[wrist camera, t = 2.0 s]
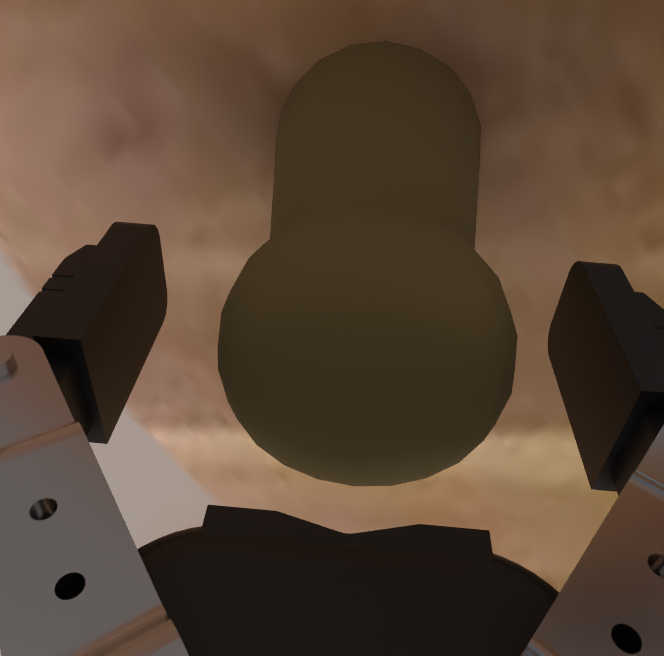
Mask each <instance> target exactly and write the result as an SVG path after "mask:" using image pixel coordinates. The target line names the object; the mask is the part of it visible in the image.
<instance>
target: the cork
mask: <svg viewBox="0 0 664 656" xmlns="http://www.w3.org/2000/svg"><path fill="white" fill-rule="evenodd" d="M480 131H481V126H480V123H479V119H478V116H477V113H476V110H475V107H474V104H473V101H472V98H471V95H470V93H469V92H468V91H467V90H466V88H465V87H464V86H463V84H462V83H461V82H460V80H459V79H458V78H457V76H456V75H455V74H454V73H453V71H452V70H451V69H450V68H449V67H447V66H446V65H444V64H443V63H441V62H440V61H438V60H437V59H435V58H434V57H432V56H430V55H429V54H427V53H426V52H424V51H423V50H421V49H417V48H413V47H408V46H404V45H400V44H396V43H391V42H387V41H386V42H377V43H367V44H358V45H351V46H349V47H347V48H344V49H342V50H340V51H338V52H336V53H334V54H332V55H330V56H327V57H325V58H323V59H321V60H319V61H318V62H317V63H316V64H315V65H314V66H313V67H312V68H311V69H310V70H309V71H308V72H307V73H306V74H305V75H304V76H303V77H302V78H301V79H300V80H299V81H298V82H297V83H296V84H295V86H294V88H293V90H292V91H291V93H290V95H289V97H288V99H287V101H286V103H285V105H284V107H283V109H282V111H281V114H280V121H279V127H278V134H277V141H276V153H275V169H274V185H273V201H272V217H271V233H270V240H268V241H267V242H266V243H265V244H264V245H262V246H261V247H260V248H259V249H258V250H257V251H256V252H255V253H254V254H253V255H252V256H251V257H250V258H249V259H248V261H247V262H246V264H245V266H244V268H243V269H242V271H241V273H240V275H239V277H238V278H237V280H236V282H235V284H234V285H233V287H232V289H231V291H230V293H229V295H228V298H227V300H226V302H225V305H224V307H223V310H222V313H221V323H220V332H219V341H218V370H219V374H220V377H221V380H222V383H223V387H224V390H225V393H226V397H227V400H228V403H229V404H230V406H231V408H232V410H233V412H234V414H235V416H236V418H237V419H238V421H239V422H240V423H241V425H242V426H243V427H244V429H245V430H246V431H247V433H248V434H249V435H250V437H251V438H252V439H253V440H254V442H255V443H256V444H257V445H258V446H259V447H260V448H262V449H263V450H265V451H266V452H267V453H269V454H270V455H271V456H273V457H274V458H275V459H277V460H278V461H279V462H281V463H282V464H284V465H285V466H288V467H290V468H292V469H295V470H297V471H300V472H302V473H304V474H307V475H309V476H311V477H314V478H316V479H320V480H325V481H330V482H335V483H340V484H346V485H351V486H393V485H397V484H402V483H406V482H411V481H415V480H420V479H424V478H428V477H430V476H432V475H434V474H436V473H438V472H440V471H443V470H445V469H447V468H449V467H451V466H453V465H455V464H457V463H459V462H460V461H461V460H462V459H463V458H465V457H466V456H467V455H468V454H469V453H470V452H471V451H472V450H473V449H475V448H476V447H477V446H478V445H479V444H480V443H481V442H482V441H484V439H485V438H486V436H487V435H488V434H489V432H490V431H491V429H492V428H493V427H494V425H495V424H496V422H497V420H498V418H499V416H500V414H501V412H502V410H503V409H504V407H505V405H506V403H507V401H508V399H509V397H510V395H511V393H512V386H513V379H514V371H515V359H516V346H517V333H516V329H515V325H514V322H513V318H512V315H511V312H510V309H509V306H508V303H507V300H506V298H505V295H504V292H503V289H502V286H501V283H500V281H499V278H498V277H497V275H496V274H495V273H494V272H493V271H492V269H491V268H490V267H489V266H488V265H487V263H486V262H485V261H484V260H483V259H482V258H481V257H480V255H479V254H478V253H477V252H476V251H475V250H474V249H475V232H476V214H477V197H478V180H479V162H480Z"/></svg>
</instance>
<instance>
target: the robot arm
mask: <svg viewBox="0 0 664 656" xmlns="http://www.w3.org/2000/svg"><path fill="white" fill-rule="evenodd" d="M166 309H167V287H166V280H165V273H164V265H163V258H162V250H161V243H160V236H159V232H158V229H157V227H156V226H155V225H150V224H138V223H126V222H114V223H113V224H112V225H111V227H110V228H109V230H108V231H107V232H106V234H105V235H104V237H103V238H102V239H101V241H100V242H99V244H98V245H97V246H96V245H85V246H84V247H82V248H80V249H79V250H77V251H76V252H74V253H72V254H71V255H69V256H68V257H66V258H65V259H64V260H63V261H62V262H61V264H60V265H59V266H58V268H57V269H56V270H55V272H54V273H53V274H52V278H49V279H48V281H47V282H46V283H45V285H44V286H43V287H42V292H38V294H37V295H36V296H35V298H34V299H33V300H32V302H31V303H30V304H29V305H28V307H27V308H26V309H25V311H24V312H23V313H22V315H21V316H20V317H19V319H18V320H17V321H16V322H15V324H14V325H13V326H12V328H11V329H10V330H9V332H8V333H7V334H6V335H5V336H0V650H1V654H2V656H664V309H662V308H661V307H660V306H659V305H658V304H656V303H655V302H654V301H653V300H652V299H650V298H649V297H648V296H647V295H646V294H644V293H641V292H634V290H633V288H632V287H631V285H630V283H629V281H628V279H627V277H626V276H625V274H624V272H623V270H622V269H621V267H620V266H619V265H617V264H605V263H593V262H581V261H577V262H575V263H574V264H573V266H572V267H571V269H570V272H569V274H568V277H567V280H566V283H565V285H564V288H563V291H562V294H561V297H560V300H559V303H558V305H557V308H556V311H555V314H554V317H553V320H552V322H551V326H550V329H549V335H548V353H549V358H550V361H551V364H552V367H553V370H554V374H555V377H556V380H557V383H558V386H559V389H560V392H561V396H562V399H563V402H564V405H565V408H566V411H567V415H568V418H569V421H570V424H571V427H572V430H573V433H574V437H575V440H576V443H577V446H578V449H579V452H580V455H581V459H582V462H583V465H584V468H585V471H586V474H587V477H588V481H589V484H590V487H591V489H595V490H606V491H617V493H618V496H619V497H618V498H617V500H616V501H615V503H614V505H613V506H612V508H611V510H610V511H609V513H608V515H607V516H606V518H605V519H604V521H603V523H602V524H601V526H600V528H599V529H598V531H597V532H596V534H595V536H594V537H593V539H592V541H591V542H590V544H589V546H588V547H587V549H586V550H585V552H584V554H583V555H582V557H581V559H580V560H579V562H578V564H577V565H576V567H575V568H574V570H573V572H572V573H571V575H570V577H569V578H568V580H567V581H566V583H565V585H564V586H563V588H562V590H561V591H560V593H559V592H558V591H557V590H556V589H554V588H553V587H552V586H551V585H550V584H548V583H547V582H546V581H544V580H543V579H542V578H540V577H539V576H537V575H536V574H535V573H533V572H531V571H529V570H528V569H526V568H524V567H523V566H521V565H519V564H517V563H515V562H513V561H510V560H508V559H506V558H504V557H502V556H499V555H496V554H493V552H492V546H491V539H490V532H489V530H478V529H467V528H456V527H445V526H434V525H423V524H417V525H410V526H403V527H396V528H389V529H382V530H375V531H368V532H361V533H354V534H347V533H341V532H338V531H335V530H332V529H329V528H326V527H323V526H320V525H317V524H314V523H311V522H308V521H305V520H302V519H299V518H296V517H293V516H290V515H287V514H284V513H281V512H278V511H270V510H260V509H249V508H238V507H227V506H216V505H208V506H207V510H206V514H205V518H204V522H203V525H202V526H201V527H195V528H189V529H186V530H182V531H178V532H174V533H172V534H169V535H166V536H163V537H161V538H158V539H156V540H154V541H152V542H150V543H148V544H146V545H144V546H142V547H141V548H139V549H137V548H136V546H135V543H134V541H133V539H132V537H131V535H130V532H129V530H128V528H127V526H126V523H125V521H124V519H123V517H122V515H121V512H120V510H119V508H118V506H117V504H116V501H115V499H114V497H113V495H112V492H111V490H110V488H109V486H108V484H107V481H106V479H105V477H104V475H103V473H102V470H101V468H100V466H99V464H98V462H97V459H96V457H95V455H94V453H93V451H92V448H91V446H90V444H89V442H93V443H104V444H107V443H108V441H109V439H110V437H111V435H112V432H113V430H114V428H115V426H116V424H117V421H118V419H119V417H120V415H121V413H122V411H123V408H124V406H125V404H126V402H127V400H128V398H129V395H130V393H131V391H132V389H133V387H134V385H135V382H136V380H137V378H138V376H139V374H140V372H141V369H142V367H143V365H144V363H145V361H146V359H147V356H148V354H149V352H150V350H151V348H152V346H153V343H154V341H155V339H156V337H157V335H158V333H159V330H160V328H161V326H162V324H163V321H164V318H165V315H166Z"/></svg>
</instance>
